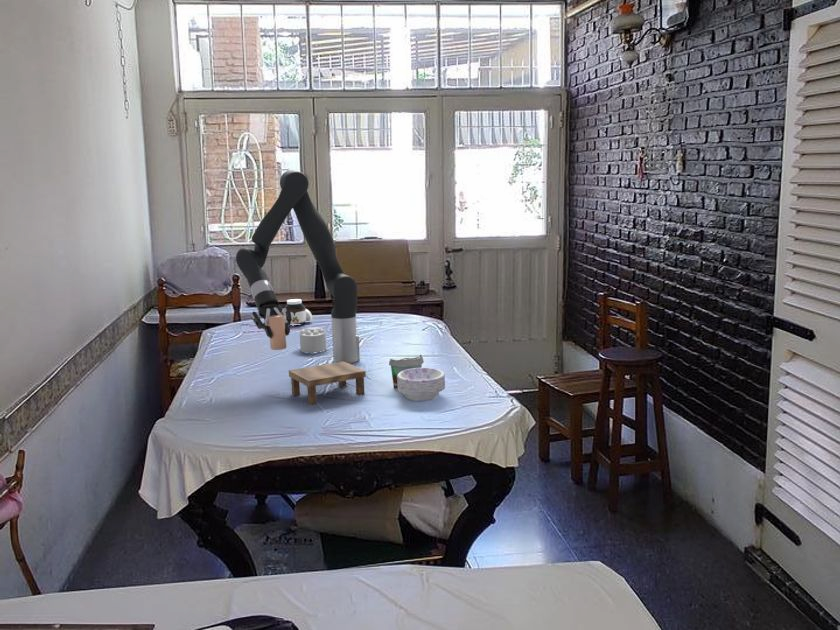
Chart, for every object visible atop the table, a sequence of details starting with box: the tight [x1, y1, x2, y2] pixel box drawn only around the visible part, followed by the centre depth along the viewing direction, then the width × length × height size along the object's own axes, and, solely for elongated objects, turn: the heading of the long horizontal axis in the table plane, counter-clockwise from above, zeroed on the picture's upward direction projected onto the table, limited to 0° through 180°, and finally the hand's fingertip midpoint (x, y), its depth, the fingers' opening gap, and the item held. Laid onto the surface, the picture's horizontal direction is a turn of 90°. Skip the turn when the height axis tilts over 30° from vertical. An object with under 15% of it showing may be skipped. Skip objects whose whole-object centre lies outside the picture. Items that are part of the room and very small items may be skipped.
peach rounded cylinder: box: [268, 314, 288, 351], centre depth 275 cm, size 5×5×11 cm
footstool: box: [288, 361, 367, 406], centre depth 264 cm, size 20×16×8 cm
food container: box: [388, 354, 425, 390], centre depth 270 cm, size 12×6×10 cm, turn 117°
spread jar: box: [283, 298, 313, 325], centre depth 382 cm, size 12×11×12 cm
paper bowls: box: [397, 367, 446, 402], centre depth 259 cm, size 15×15×8 cm
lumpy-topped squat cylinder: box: [299, 326, 327, 354], centre depth 328 cm, size 10×13×9 cm
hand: (279, 335), depth 274 cm, fingers closed on peach rounded cylinder, 5 cm apart
